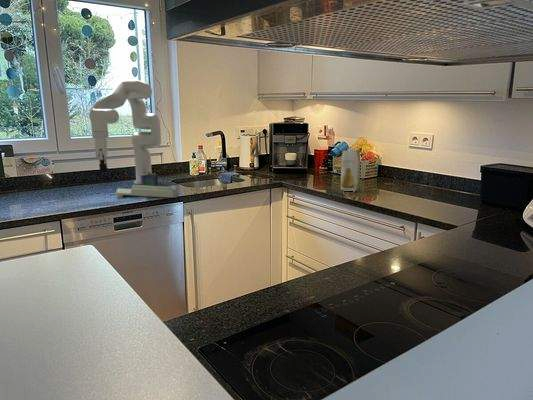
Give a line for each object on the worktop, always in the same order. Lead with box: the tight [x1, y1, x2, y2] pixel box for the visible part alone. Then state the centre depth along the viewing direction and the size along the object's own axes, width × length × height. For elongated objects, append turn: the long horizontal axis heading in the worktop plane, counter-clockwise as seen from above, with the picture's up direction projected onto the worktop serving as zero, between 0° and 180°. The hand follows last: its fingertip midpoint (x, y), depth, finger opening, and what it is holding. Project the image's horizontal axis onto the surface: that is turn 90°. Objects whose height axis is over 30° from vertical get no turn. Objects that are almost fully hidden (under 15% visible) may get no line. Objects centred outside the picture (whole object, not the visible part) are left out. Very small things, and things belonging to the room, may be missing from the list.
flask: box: [140, 171, 159, 186], centre depth 233 cm, size 9×3×11 cm, turn 109°
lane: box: [115, 184, 178, 199], centre depth 215 cm, size 11×30×6 cm, turn 106°
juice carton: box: [340, 147, 361, 193], centre depth 227 cm, size 9×8×24 cm
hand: (103, 170), depth 207 cm, fingers closed on ball, 3 cm apart
